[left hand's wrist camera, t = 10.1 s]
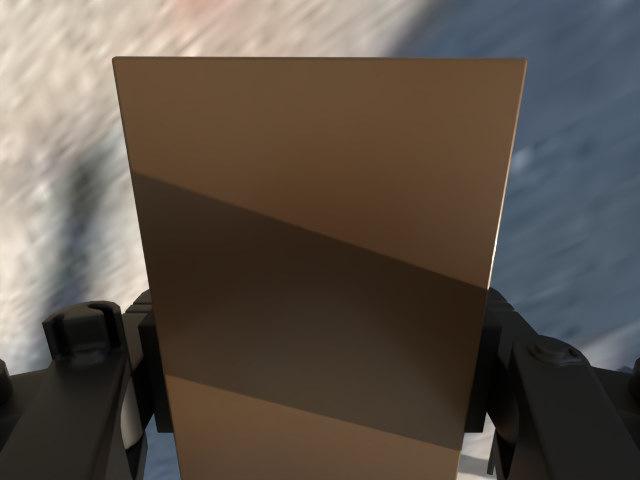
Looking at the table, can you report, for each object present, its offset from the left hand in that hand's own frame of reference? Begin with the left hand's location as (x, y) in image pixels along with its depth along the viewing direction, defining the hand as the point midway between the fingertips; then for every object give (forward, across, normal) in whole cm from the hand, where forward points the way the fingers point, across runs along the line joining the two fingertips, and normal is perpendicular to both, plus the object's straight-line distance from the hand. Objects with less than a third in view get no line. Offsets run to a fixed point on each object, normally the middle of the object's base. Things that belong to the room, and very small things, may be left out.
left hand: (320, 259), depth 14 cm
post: (+1, 0, -22) cm, 22 cm away
